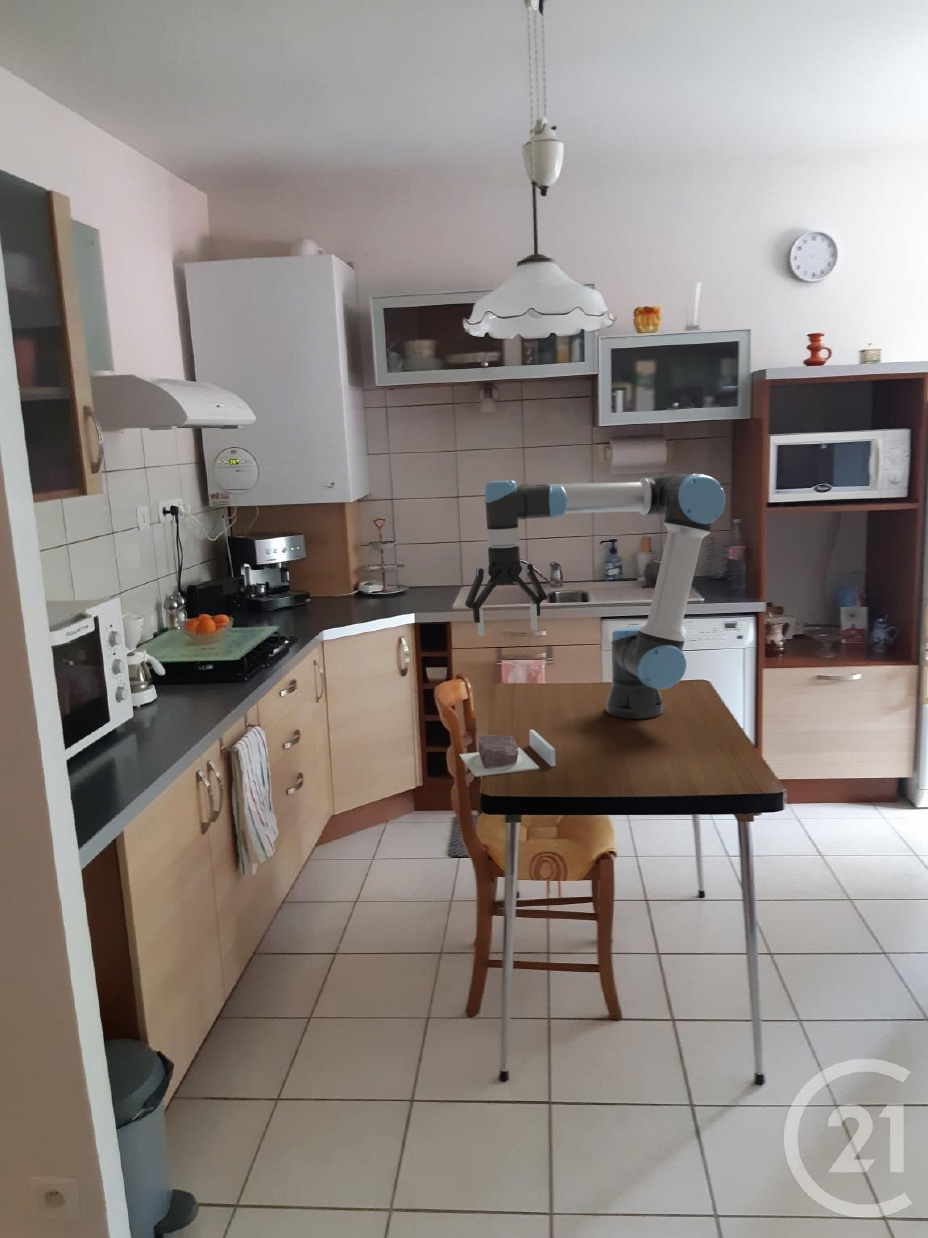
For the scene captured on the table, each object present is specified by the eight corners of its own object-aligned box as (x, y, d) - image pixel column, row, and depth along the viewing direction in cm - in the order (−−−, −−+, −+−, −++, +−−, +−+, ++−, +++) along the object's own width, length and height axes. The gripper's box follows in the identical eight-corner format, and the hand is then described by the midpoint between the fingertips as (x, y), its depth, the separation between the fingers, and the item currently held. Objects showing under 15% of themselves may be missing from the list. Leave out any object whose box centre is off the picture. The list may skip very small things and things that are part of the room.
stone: (520, 767, 209) (519, 747, 208) (480, 770, 209) (479, 750, 208) (515, 750, 221) (514, 731, 220) (478, 752, 220) (477, 733, 219)
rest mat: (519, 749, 223) (519, 747, 223) (539, 768, 209) (539, 766, 209) (459, 756, 220) (459, 754, 220) (475, 776, 206) (475, 774, 205)
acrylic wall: (533, 745, 226) (533, 729, 225) (555, 766, 210) (555, 749, 210) (529, 745, 225) (529, 730, 225) (551, 766, 210) (550, 749, 209)
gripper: (546, 540, 228) (550, 624, 232) (449, 548, 222) (454, 635, 226) (557, 542, 221) (561, 629, 225) (457, 551, 215) (462, 641, 219)
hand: (508, 632), depth 225 cm, fingers open, 13 cm apart
